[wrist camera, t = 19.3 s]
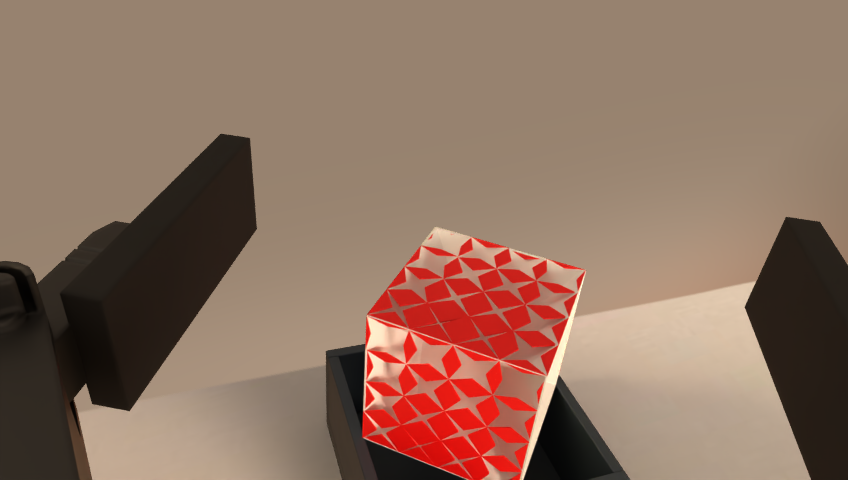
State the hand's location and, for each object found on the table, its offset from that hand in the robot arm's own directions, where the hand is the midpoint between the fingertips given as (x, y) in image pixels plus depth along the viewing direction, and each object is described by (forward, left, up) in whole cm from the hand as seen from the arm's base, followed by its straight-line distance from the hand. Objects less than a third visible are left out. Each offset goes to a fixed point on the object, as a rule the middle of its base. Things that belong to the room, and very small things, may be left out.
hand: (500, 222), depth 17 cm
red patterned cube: (-10, 0, -18) cm, 20 cm away
